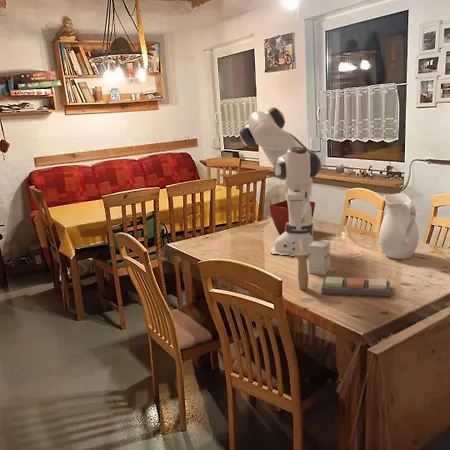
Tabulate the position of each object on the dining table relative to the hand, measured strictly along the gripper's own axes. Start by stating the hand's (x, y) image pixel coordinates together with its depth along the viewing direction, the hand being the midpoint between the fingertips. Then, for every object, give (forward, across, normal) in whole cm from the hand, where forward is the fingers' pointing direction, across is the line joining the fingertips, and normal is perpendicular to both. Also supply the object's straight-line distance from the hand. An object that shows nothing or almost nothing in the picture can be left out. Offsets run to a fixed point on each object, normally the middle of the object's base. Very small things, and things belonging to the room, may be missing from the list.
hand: (300, 226), depth 178 cm
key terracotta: (+24, -1, +20) cm, 31 cm away
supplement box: (+26, -20, +4) cm, 33 cm away
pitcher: (+26, -41, +38) cm, 62 cm away
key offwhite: (+24, -1, +28) cm, 37 cm away
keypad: (+26, -1, +20) cm, 33 cm away
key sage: (+24, -1, +12) cm, 27 cm away
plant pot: (+26, -81, -18) cm, 87 cm away
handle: (+26, 0, 0) cm, 26 cm away
